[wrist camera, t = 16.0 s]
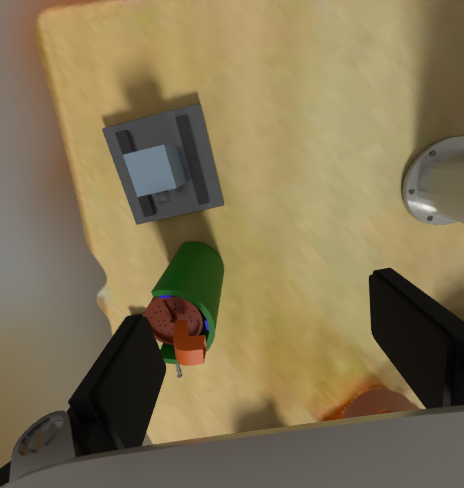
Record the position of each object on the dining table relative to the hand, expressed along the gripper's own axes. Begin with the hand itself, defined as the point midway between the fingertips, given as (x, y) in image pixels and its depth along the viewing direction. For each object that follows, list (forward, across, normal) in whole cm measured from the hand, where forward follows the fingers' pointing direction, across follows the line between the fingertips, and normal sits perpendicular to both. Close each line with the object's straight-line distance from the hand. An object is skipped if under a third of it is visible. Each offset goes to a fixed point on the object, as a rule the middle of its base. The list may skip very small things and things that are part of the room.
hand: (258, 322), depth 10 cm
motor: (+31, +10, +10) cm, 34 cm away
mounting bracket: (+30, +10, -7) cm, 33 cm away
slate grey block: (+29, +10, -7) cm, 31 cm away
